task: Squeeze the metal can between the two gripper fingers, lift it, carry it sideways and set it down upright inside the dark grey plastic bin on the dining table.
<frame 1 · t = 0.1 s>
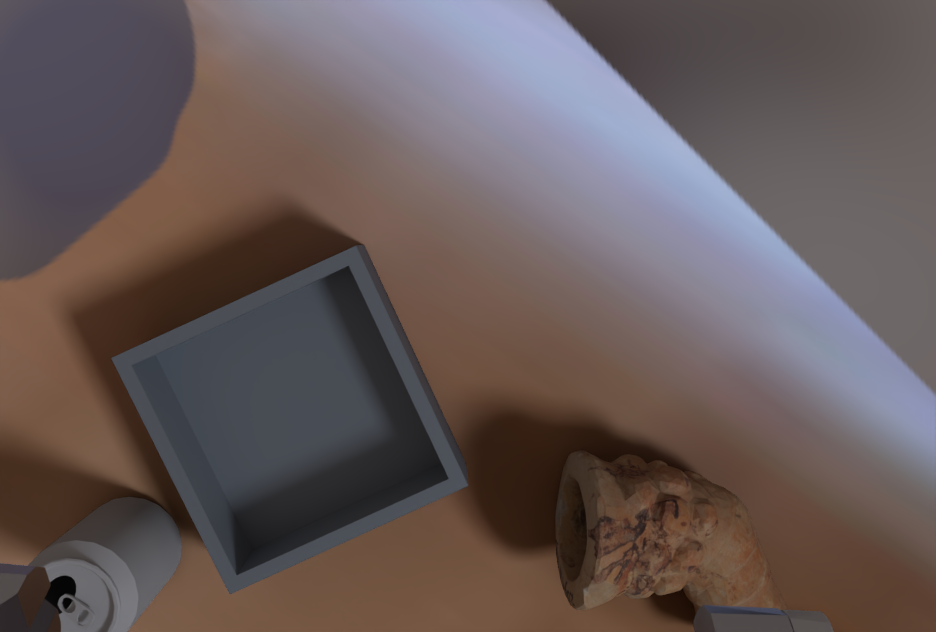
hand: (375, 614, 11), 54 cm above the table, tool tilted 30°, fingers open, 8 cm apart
bin: (305, 405, 66), on the table
clay pipe: (645, 536, 68), on the table
can: (136, 541, 66), on the table
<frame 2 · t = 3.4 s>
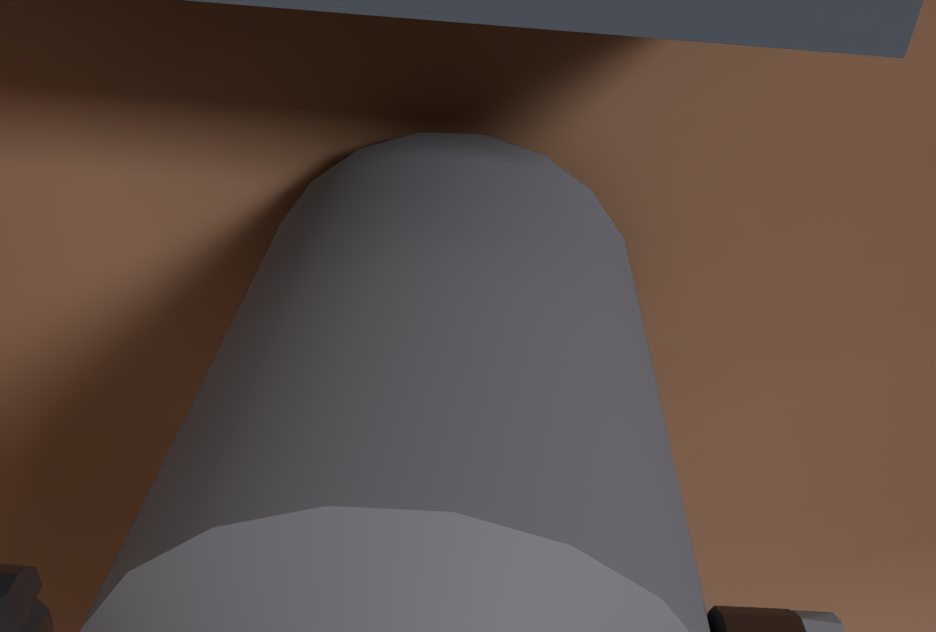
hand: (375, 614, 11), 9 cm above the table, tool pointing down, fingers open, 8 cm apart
can: (453, 278, 19), on the table, touching gripper
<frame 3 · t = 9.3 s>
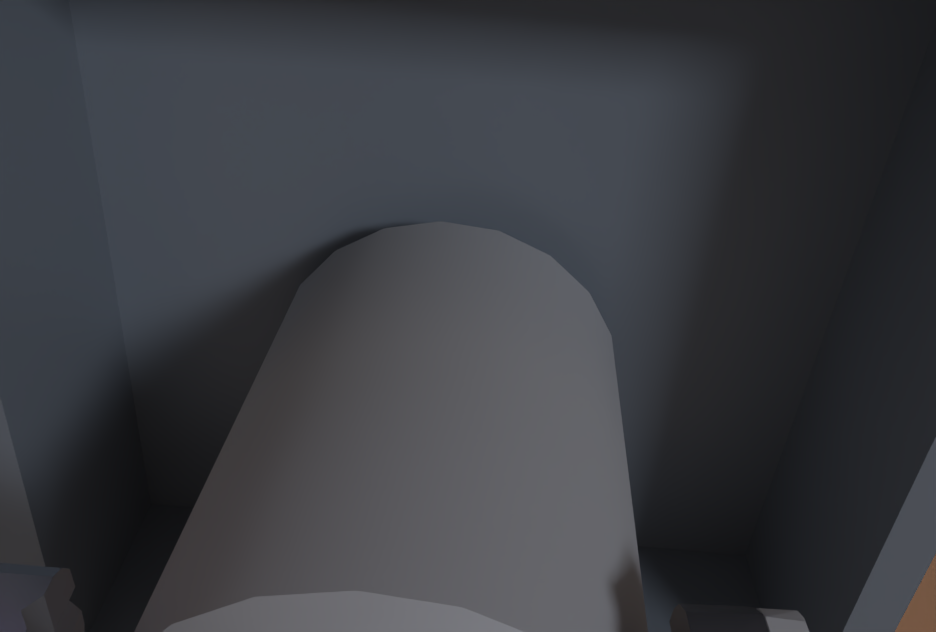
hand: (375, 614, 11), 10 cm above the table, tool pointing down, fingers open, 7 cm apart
bin: (474, 249, 20), on the table
can: (450, 347, 20), point 1 cm above the table, touching bin, gripper
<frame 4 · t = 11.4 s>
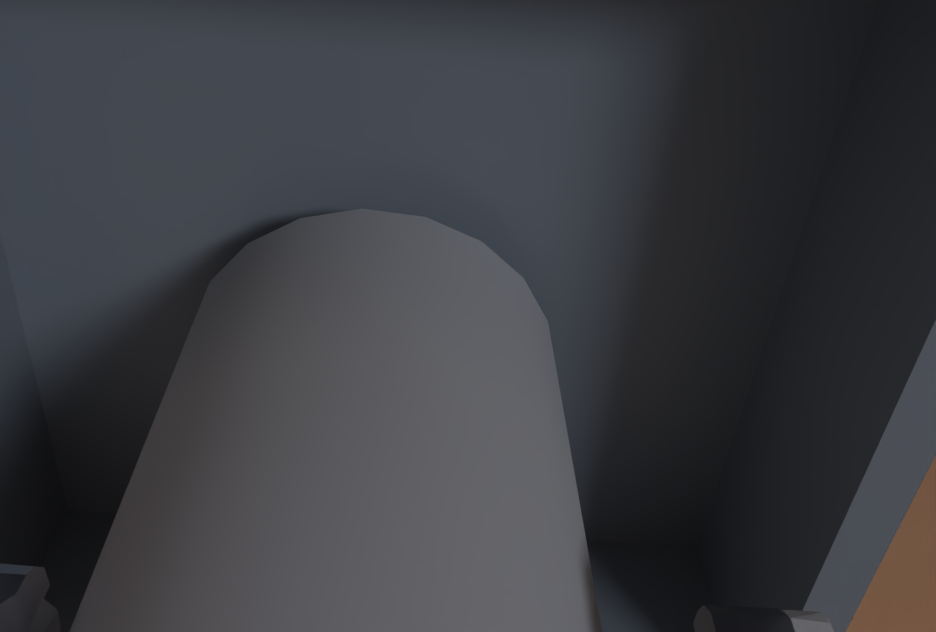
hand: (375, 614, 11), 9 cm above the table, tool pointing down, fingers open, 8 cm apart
bin: (402, 234, 19), on the table
can: (377, 338, 19), point 1 cm above the table, touching bin, gripper
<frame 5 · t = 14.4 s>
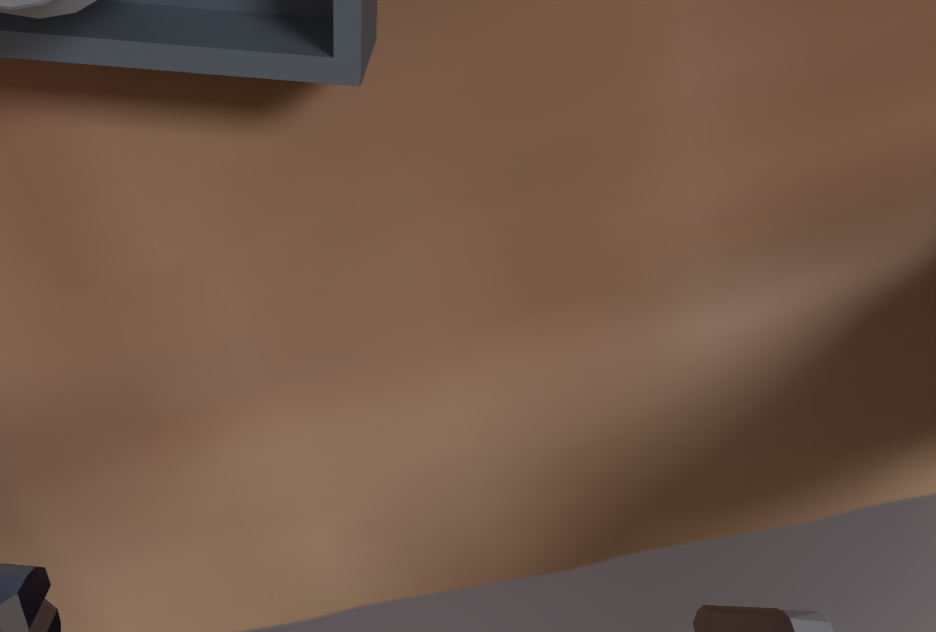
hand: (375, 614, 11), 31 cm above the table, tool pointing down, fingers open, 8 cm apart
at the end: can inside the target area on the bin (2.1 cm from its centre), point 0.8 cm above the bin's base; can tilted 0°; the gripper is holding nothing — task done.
